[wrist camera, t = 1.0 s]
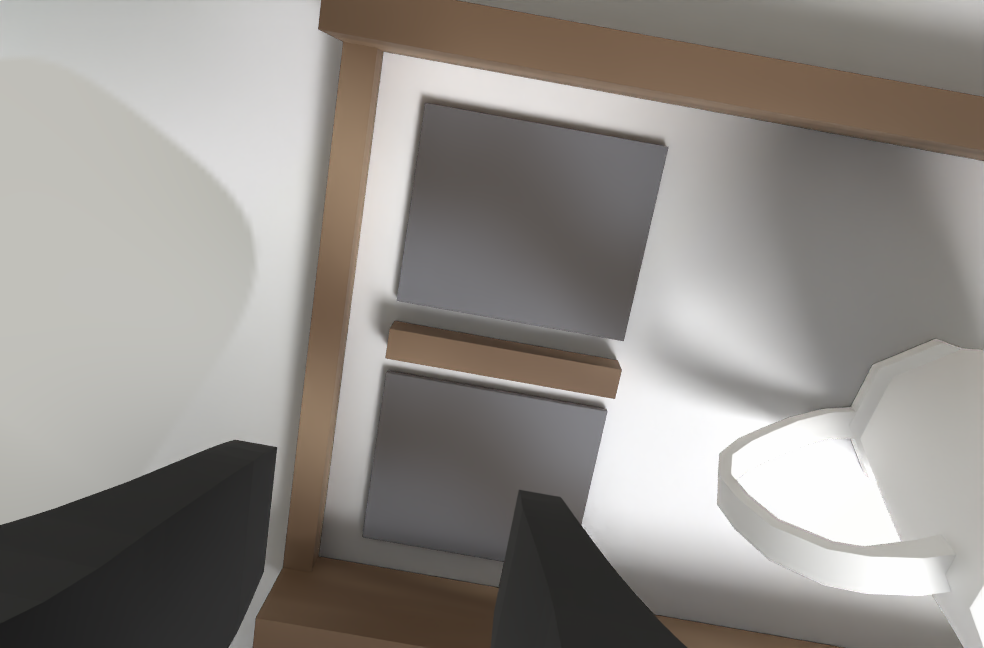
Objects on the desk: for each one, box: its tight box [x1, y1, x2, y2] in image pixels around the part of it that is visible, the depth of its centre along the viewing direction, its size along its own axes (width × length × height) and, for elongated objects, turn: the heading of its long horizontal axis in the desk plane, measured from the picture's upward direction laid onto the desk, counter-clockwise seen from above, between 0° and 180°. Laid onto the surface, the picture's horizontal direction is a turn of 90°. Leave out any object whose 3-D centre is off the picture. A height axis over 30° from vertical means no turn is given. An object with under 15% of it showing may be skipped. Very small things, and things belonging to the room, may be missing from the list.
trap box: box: [253, 0, 984, 648], centre depth 18 cm, size 16×30×3 cm, turn 80°
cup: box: [717, 339, 984, 648], centre depth 16 cm, size 7×10×8 cm
